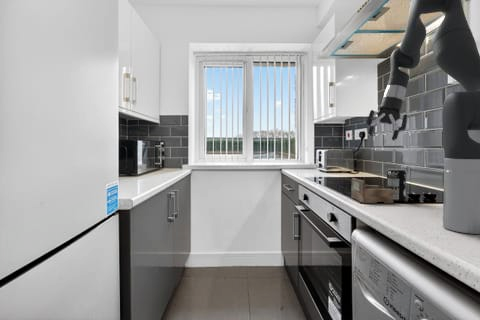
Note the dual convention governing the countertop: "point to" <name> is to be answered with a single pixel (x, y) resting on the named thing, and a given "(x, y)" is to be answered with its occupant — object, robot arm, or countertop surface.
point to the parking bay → (370, 192)
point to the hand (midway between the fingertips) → (381, 138)
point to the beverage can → (397, 183)
